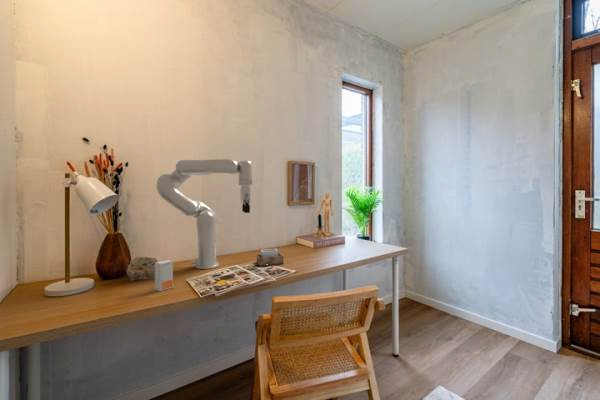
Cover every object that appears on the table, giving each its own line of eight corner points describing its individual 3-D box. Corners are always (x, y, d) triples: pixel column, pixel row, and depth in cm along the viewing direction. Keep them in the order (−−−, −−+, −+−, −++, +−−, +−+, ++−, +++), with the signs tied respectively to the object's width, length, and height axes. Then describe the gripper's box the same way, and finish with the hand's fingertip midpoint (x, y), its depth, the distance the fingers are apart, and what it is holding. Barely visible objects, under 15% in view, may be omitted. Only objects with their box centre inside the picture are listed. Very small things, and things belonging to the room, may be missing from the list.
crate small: (263, 264, 157) (262, 251, 156) (261, 261, 163) (261, 249, 163) (278, 262, 159) (278, 250, 159) (276, 260, 165) (275, 248, 165)
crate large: (259, 266, 154) (259, 258, 154) (256, 261, 164) (256, 254, 164) (283, 263, 158) (283, 256, 158) (279, 259, 168) (279, 252, 168)
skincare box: (160, 291, 116) (159, 263, 116) (155, 290, 119) (154, 262, 118) (173, 287, 121) (173, 260, 121) (168, 285, 124) (167, 259, 123)
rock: (165, 278, 137) (160, 261, 134) (133, 292, 128) (126, 273, 126) (157, 266, 153) (152, 249, 150) (127, 277, 144) (121, 260, 142)
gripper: (237, 183, 165) (238, 211, 165) (240, 182, 148) (240, 213, 149) (250, 183, 167) (250, 210, 168) (254, 182, 150) (254, 213, 151)
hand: (246, 212), depth 158 cm, fingers open, 9 cm apart
